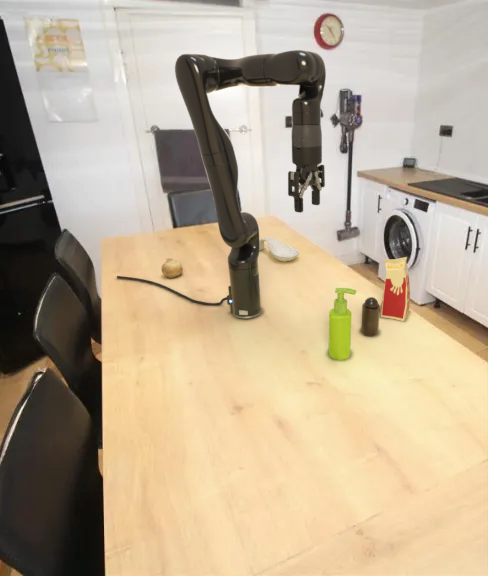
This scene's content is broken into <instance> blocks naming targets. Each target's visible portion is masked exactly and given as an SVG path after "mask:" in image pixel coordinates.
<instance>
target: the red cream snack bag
mask: <svg viewBox="0 0 488 576" xmlns="http://www.w3.org/2000/svg"><path fill="white" fill-rule="evenodd" d="M407 259H408V256H404V257H400V258H394V259H392V258H389V259H382V260H383V262H384V264H385V270H386V272H385V280H384V285H383V286H384V287H383V293H382V299H381V303H380V313H379V315H380V317H381V318H385V319H392V320H397V321H401V322H405V320H406V318H407V316H408V313H409V311H410V305H411V287H410V286H411V284H410V275H409V270H408V263H407Z"/></svg>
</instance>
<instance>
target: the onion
mask: <svg viewBox="0 0 488 576" xmlns="http://www.w3.org/2000/svg"><path fill="white" fill-rule="evenodd" d="M160 270H161V273H162V275H163V276H165V277H166V278H169V279H174V278H177V277H179V276H180V275H181V274H182V273H183V265H182V263H181V262H180V261H178V260H176V259H174V258H166V261H165V262H163V264H162V265H161V269H160Z"/></svg>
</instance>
